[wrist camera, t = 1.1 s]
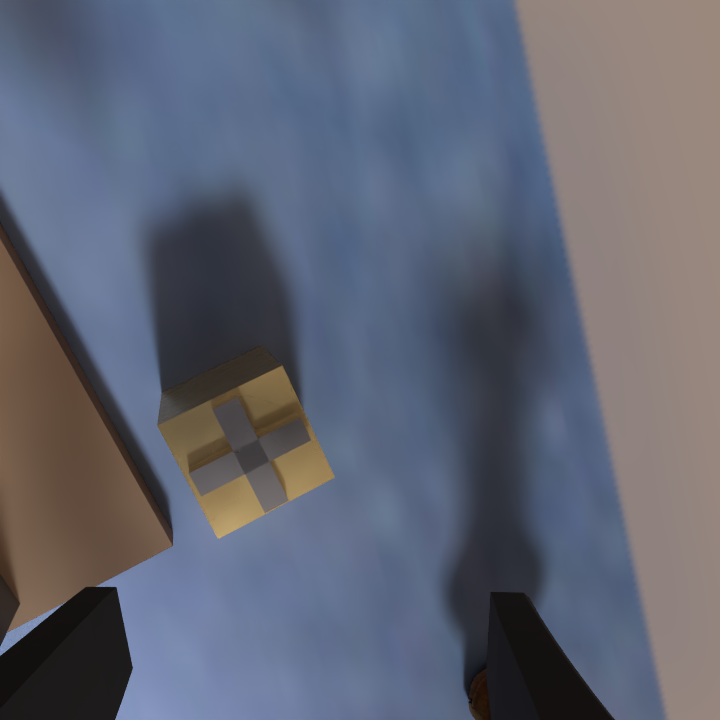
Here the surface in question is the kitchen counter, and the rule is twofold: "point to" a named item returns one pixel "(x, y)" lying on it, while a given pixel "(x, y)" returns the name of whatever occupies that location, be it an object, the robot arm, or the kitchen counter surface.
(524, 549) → the kitchen counter surface
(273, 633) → the kitchen counter surface
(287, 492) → the gold square block
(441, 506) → the kitchen counter surface
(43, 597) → the coupling base
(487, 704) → the bolt
